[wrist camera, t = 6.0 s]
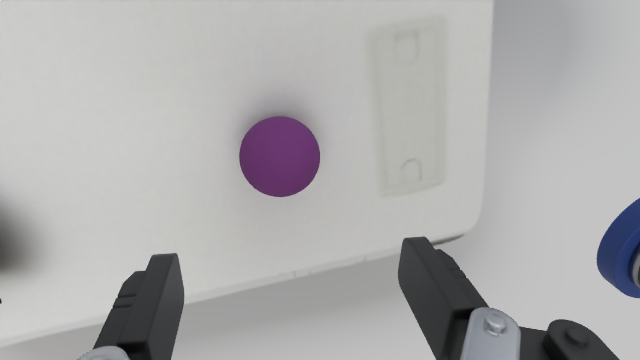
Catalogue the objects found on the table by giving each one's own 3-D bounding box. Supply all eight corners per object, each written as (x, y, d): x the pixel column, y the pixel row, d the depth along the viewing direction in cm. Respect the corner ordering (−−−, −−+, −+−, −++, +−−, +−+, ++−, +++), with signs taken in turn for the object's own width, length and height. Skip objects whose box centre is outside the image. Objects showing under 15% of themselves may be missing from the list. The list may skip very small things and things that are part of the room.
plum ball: (315, 106, 23) (327, 130, 19) (313, 174, 26) (324, 209, 21) (238, 107, 23) (234, 132, 18) (243, 177, 25) (240, 214, 21)
